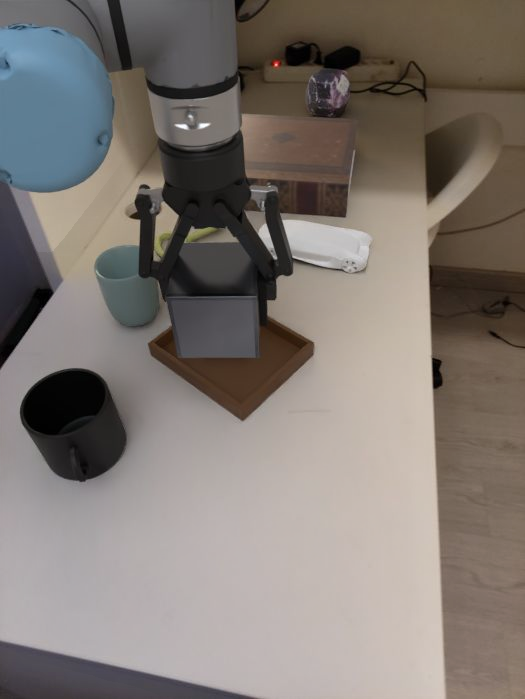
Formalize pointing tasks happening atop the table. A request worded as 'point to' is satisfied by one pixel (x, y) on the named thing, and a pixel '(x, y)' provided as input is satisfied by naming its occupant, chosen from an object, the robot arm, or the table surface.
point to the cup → (126, 286)
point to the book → (301, 161)
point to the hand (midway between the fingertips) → (222, 318)
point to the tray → (240, 368)
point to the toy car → (323, 244)
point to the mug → (74, 423)
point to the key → (189, 239)
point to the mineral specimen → (328, 92)
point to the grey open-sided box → (214, 301)
